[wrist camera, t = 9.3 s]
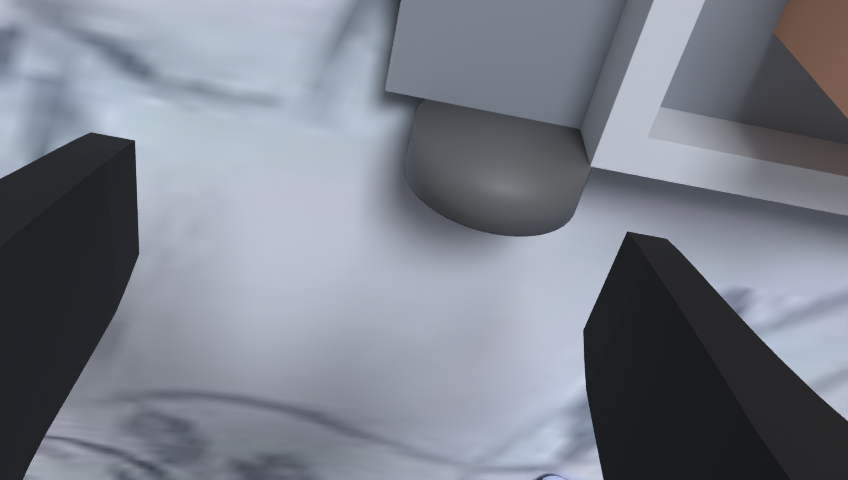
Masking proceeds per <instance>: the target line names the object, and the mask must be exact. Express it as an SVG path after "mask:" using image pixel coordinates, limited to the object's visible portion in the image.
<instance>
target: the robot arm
mask: <svg viewBox="0 0 848 480" xmlns="http://www.w3.org/2000/svg"><path fill="white" fill-rule="evenodd" d="M138 255H139V238H138V210H137V183H136V156H135V141H134V140H129V139H124V138H118V137H113V136H107V135H102V134H97V133H89V134H86V135H84V136H82V137H80V138H78V139H76V140H74V141H72V142H70V143H68V144H66V145H64V146H62V147H60V148H58V149H56V150H54V151H52V152H50V153H49V154H47V155H45V156H43V157H41V158H39V159H37V160H35V161H34V162H32V163H30V164H28V165H26V166H24V167H22V168H20V169H18V170H17V171H15V172H13V173H11V174H9V175H7V176H5V177H3V178H1V179H0V480H23V478H24V476H25V473H26V471H27V469H28V467H29V465H30V463H31V461H32V459H33V457H34V455H35V453H36V451H37V449H38V447H39V445H40V444H41V442H42V440H43V438H44V436H45V434H46V433H47V431H48V429H49V427H50V426H51V424H52V422H53V421H54V419H55V417H56V415H57V414H58V412H59V410H60V408H61V407H62V405H63V403H64V402H65V400H66V398H67V396H68V395H69V393H70V391H71V389H72V388H73V386H74V384H75V383H76V381H77V379H78V377H79V376H80V374H81V372H82V371H83V369H84V367H85V365H86V364H87V362H88V360H89V358H90V357H91V355H92V353H93V352H94V350H95V348H96V346H97V345H98V343H99V341H100V339H101V337H102V336H103V334H104V332H105V330H106V329H107V327H108V325H109V323H110V322H111V320H112V318H113V316H114V314H115V313H116V311H117V308H118V306H119V303H120V301H121V299H122V296H123V294H124V291H125V289H126V287H127V284H128V281H129V279H130V276H131V274H132V271H133V268H134V266H135V263H136V261H137V258H138ZM583 335H584V363H585V378H586V390H587V396H588V402H589V407H590V413H591V418H592V423H593V428H594V434H595V439H596V444H597V449H598V454H599V459H600V464H601V469H602V474H603V479H604V480H848V421H847V420H846V419H845V418H843V417H842V416H841V415H840V414H839V413H837V412H836V411H835V410H834V409H833V408H832V407H831V406H829V405H828V404H827V403H826V402H825V401H824V400H823V399H822V398H821V397H819V396H818V395H817V394H816V393H815V392H814V391H813V390H812V389H811V388H810V387H809V386H808V385H807V384H806V383H805V382H804V381H803V380H802V379H800V378H799V377H798V376H797V375H796V374H795V373H794V372H793V371H792V370H791V369H790V368H789V367H788V366H787V365H786V364H785V363H784V362H783V361H782V360H781V359H780V358H779V357H778V356H777V355H776V354H775V353H774V352H773V351H772V350H771V349H770V348H769V347H768V346H767V345H766V344H765V343H764V342H763V341H762V340H761V339H760V338H759V337H758V336H757V335H756V334H755V333H754V331H753V330H752V329H751V328H750V327H749V326H748V325H747V324H746V323H745V322H744V321H743V320H742V319H741V318H740V317H739V315H738V314H737V313H736V312H735V311H734V310H733V309H732V308H731V307H730V306H729V305H728V303H727V302H726V301H725V300H724V299H723V298H722V297H721V296H720V295H719V294H718V293H717V291H716V290H715V289H714V288H713V287H712V286H711V285H710V284H709V283H708V281H707V280H706V279H705V278H704V277H703V276H702V275H701V274H700V273H699V272H698V270H697V269H696V268H695V267H694V266H693V265H692V264H691V263H690V262H689V261H688V260H687V259H686V258H685V256H684V255H683V254H682V253H681V252H680V251H679V250H678V249H677V248H676V247H675V246H674V245H673V244H672V243H670V242H669V241H668V240H667V239H665V238H659V237H654V236H648V235H643V234H637V233H632V232H627V233H626V236H625V238H624V240H623V242H622V245H621V247H620V249H619V251H618V254H617V256H616V258H615V260H614V263H613V265H612V267H611V269H610V272H609V274H608V276H607V278H606V281H605V283H604V285H603V287H602V290H601V292H600V294H599V296H598V299H597V301H596V303H595V305H594V308H593V310H592V312H591V314H590V317H589V319H588V321H587V323H586V326H585V328H584V330H583ZM542 480H565V479H563V478H561V477H558V476H547V477H545V478H543V479H542Z"/></svg>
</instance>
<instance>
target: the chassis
mask: <svg viewBox="0 0 848 480" xmlns="http://www.w3.org/2000/svg"><path fill="white" fill-rule="evenodd" d="M787 2H788V0H401V3H400V8H399V14H398V19H397V25H396V30H395V36H394V41H393V47H392V52H391V58H390V64H389V69H388V75H387V80H386V86H385V91H389V92H394V93H399V94H404V95H409V96H414V97H419V98H424V99H425V100H424V101H423V102H422V103H421V104H420V105H419V106H418V108H417V110H416V113H415V117H414V122H413V126H412V131H411V136H410V140H409V145H408V150H407V155H406V159H405V164H404V173H405V177H406V180H407V182H408V184H409V186H410V187H411V189H412V190H413V192H414V193H415V194H416V195H417V196H418V197H419V199H420V200H422V201H423V202H424V203H425V204H426V205H427V206H429V207H430V208H432V209H433V210H434V211H436V212H437V213H439V214H441V215H442V216H444V217H446V218H448V219H450V220H452V221H454V222H456V223H459V224H461V225H464V226H466V227H469V228H472V229H475V230H479V231H482V232H487V233H491V234H497V235H504V236H517V237H519V236H535V235H542V234H546V233H550V232H552V231H555V230H557V229H559V228H561V227H563V226H564V225H565V224H566V223H568V222H569V221H570V219H571V218H572V217H573V215H574V213H575V210H576V208H577V205H578V202H579V200H580V197H581V195H582V192H583V189H584V187H585V184H586V182H587V179H588V176H589V174H590V171H591V169H592V167H596V168H601V169H607V170H612V171H617V172H622V173H627V174H633V175H638V176H643V177H648V178H653V179H659V180H664V181H669V182H674V183H680V184H685V185H690V186H695V187H700V188H706V189H711V190H716V191H721V192H726V193H732V194H737V195H742V196H747V197H753V198H758V199H763V200H768V201H773V202H779V203H784V204H789V205H794V206H799V207H805V208H810V209H815V210H820V211H826V212H831V213H836V214H841V215H846V216H848V118H847V117H846V116H845V115H844V114H843V113H842V111H841V110H840V109H839V108H838V107H837V106H836V105H835V103H834V102H833V101H832V100H831V99H830V98H829V96H828V95H827V94H826V93H825V92H824V91H823V89H822V88H821V87H820V86H819V85H818V84H817V82H816V81H815V80H814V79H813V78H812V77H811V75H810V74H809V73H808V72H807V71H806V70H805V69H804V67H803V66H802V65H801V64H800V63H799V62H798V60H797V59H796V58H795V57H794V56H793V55H792V53H791V52H790V51H789V50H788V49H787V48H786V46H785V45H784V44H783V43H782V42H781V41H780V40H779V38H778V37H777V36H776V35H775V34H774V33H773V31H774V29H775V27H776V25H777V23H778V20H779V18H780V16H781V14H782V12H783V10H784V8H785V6H786V4H787ZM579 129H581V130H579Z"/></svg>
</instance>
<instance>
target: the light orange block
mask: <svg viewBox="0 0 848 480" xmlns="http://www.w3.org/2000/svg"><path fill="white" fill-rule="evenodd" d="M773 33H774V34H775V35H776V36H777V37H778V38H779V40H780V41H781V42H782V43H783V44H784V45H785V46H786V48H787V49H788V50H789V51H790V52H791V53H792V55H793V56H794V57H795V58H796V59H797V60H798V62H799V63H800V64H801V65H802V66H803V67H804V69H805V70H806V71H807V72H808V73H809V74H810V75H811V77H812V78H813V79H814V80H815V81H816V82H817V84H818V85H819V86H820V87H821V88H822V89H823V91H824V92H825V93H826V94H827V95H828V96H829V98H830V99H831V100H832V101H833V102H834V103H835V105H836V106H837V107H838V108H839V109H840V110H841V111H842V113H843V114H844V115H845V116H846V117H847V118H848V0H788V2H787V4H786V6H785V8H784V10H783V12H782V14H781V16H780V18H779V20H778V23H777V25H776V27H775V29H774V31H773Z"/></svg>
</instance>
